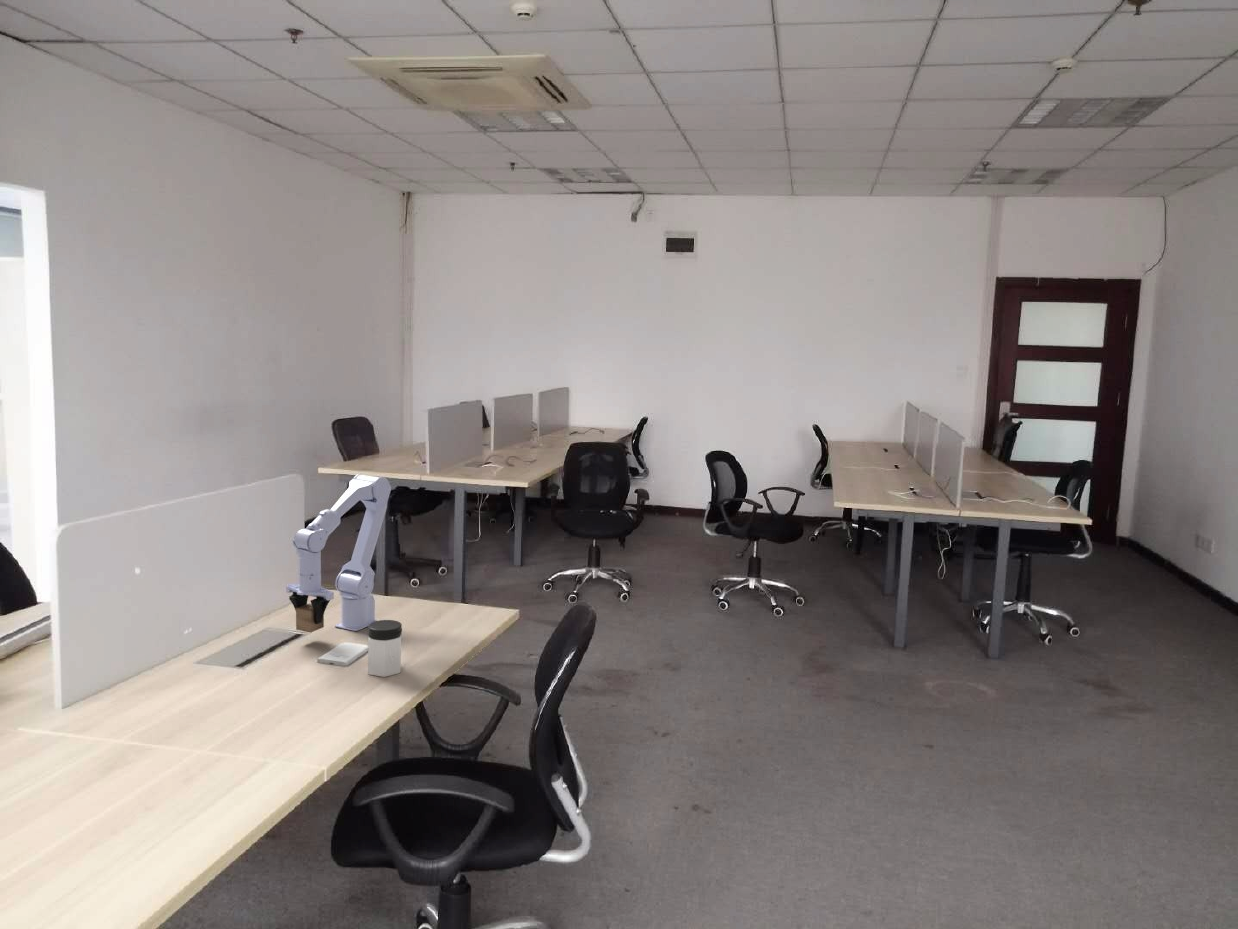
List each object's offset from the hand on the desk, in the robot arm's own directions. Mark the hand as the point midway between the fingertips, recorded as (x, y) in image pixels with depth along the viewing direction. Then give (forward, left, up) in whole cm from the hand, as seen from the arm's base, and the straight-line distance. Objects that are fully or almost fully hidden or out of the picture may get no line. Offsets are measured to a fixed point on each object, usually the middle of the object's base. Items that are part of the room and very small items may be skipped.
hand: (310, 621), depth 227 cm
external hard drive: (+4, +15, -6) cm, 17 cm away
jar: (+7, +30, -6) cm, 31 cm away
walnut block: (0, 0, -2) cm, 2 cm away
